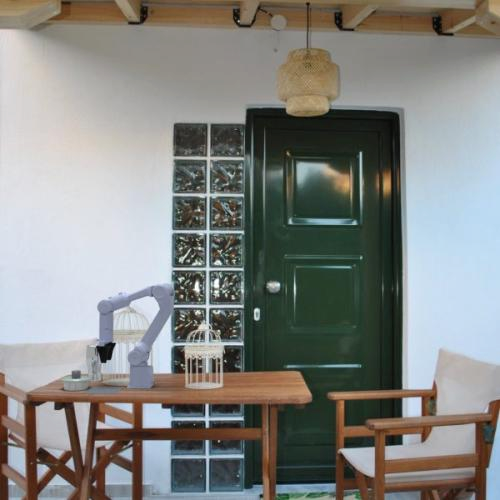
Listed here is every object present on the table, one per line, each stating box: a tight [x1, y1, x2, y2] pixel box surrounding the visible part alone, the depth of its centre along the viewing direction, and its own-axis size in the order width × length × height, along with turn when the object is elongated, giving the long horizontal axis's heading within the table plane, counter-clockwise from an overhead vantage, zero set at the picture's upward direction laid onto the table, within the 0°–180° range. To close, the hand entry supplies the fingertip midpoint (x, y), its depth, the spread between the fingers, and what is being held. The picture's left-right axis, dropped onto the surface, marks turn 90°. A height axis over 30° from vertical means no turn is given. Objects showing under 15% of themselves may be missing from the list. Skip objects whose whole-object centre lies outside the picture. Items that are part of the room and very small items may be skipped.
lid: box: [60, 369, 92, 383], centre depth 259 cm, size 12×12×3 cm
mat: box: [82, 386, 124, 395], centre depth 256 cm, size 13×13×1 cm
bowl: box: [63, 381, 89, 392], centre depth 259 cm, size 9×9×4 cm
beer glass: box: [85, 344, 103, 382], centre depth 278 cm, size 7×7×15 cm
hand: (106, 361), depth 267 cm, fingers open, 7 cm apart
